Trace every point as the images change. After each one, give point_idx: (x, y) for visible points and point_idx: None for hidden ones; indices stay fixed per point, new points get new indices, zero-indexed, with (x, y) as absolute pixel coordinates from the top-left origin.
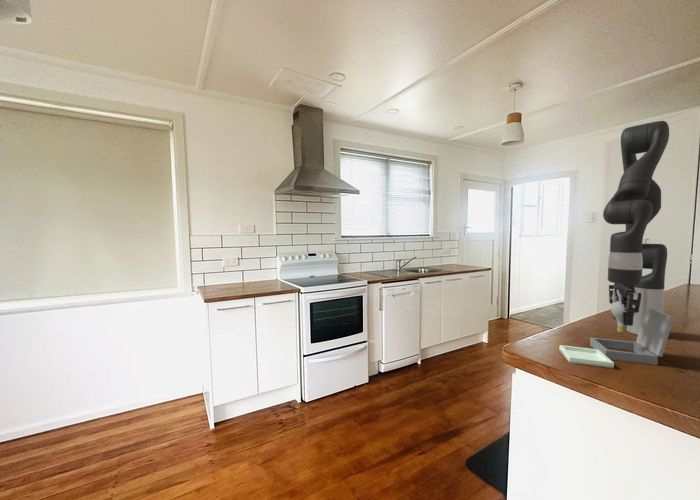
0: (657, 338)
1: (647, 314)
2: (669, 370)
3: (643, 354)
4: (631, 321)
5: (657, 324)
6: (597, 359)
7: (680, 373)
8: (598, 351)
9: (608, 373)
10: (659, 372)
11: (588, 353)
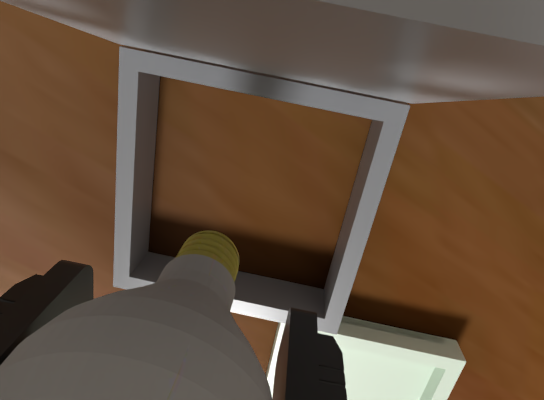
0: (369, 82)
1: None
2: None
3: (379, 173)
4: (341, 372)
5: (316, 54)
6: (376, 362)
7: None
8: None
9: (503, 385)
10: (497, 163)
11: None
